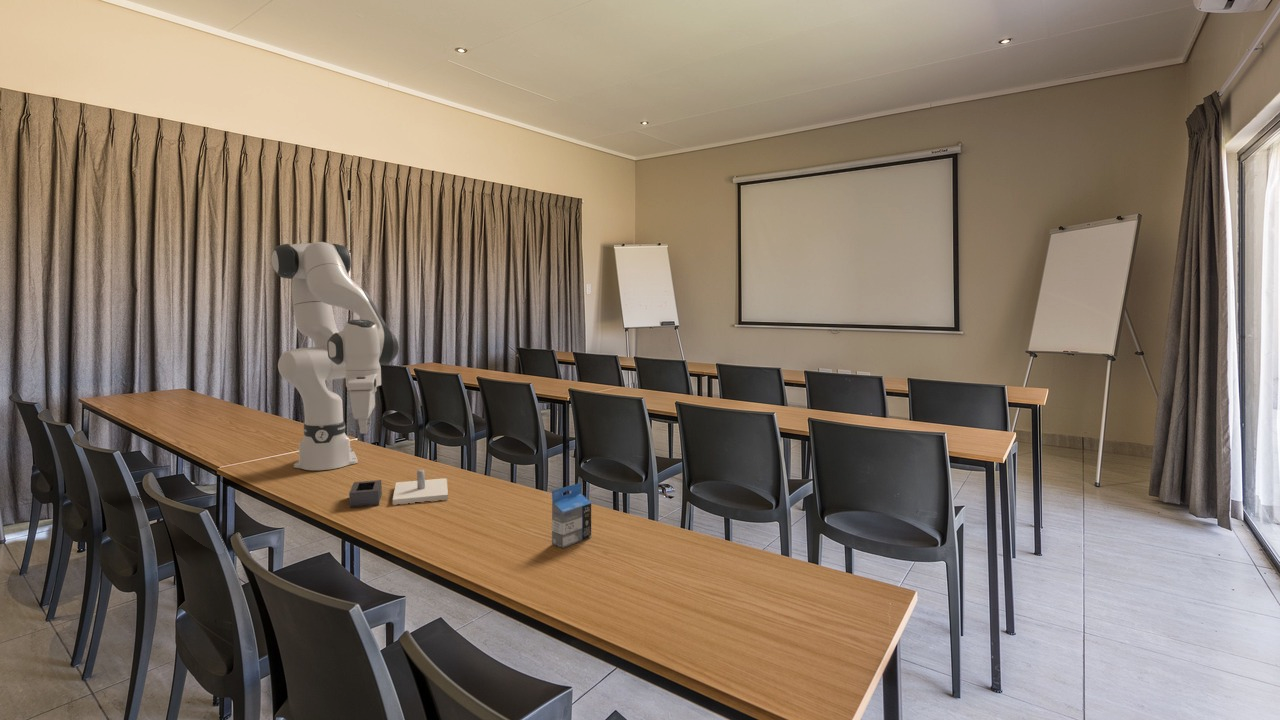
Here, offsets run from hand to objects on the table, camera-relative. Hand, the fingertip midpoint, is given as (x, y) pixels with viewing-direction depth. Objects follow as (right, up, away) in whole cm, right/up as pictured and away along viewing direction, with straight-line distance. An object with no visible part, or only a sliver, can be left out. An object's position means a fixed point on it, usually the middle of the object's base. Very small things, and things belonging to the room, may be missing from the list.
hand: (365, 429), depth 166 cm
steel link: (+1, -19, -2) cm, 19 cm away
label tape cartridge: (+60, -22, -28) cm, 70 cm away
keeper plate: (+14, -19, +4) cm, 23 cm away
